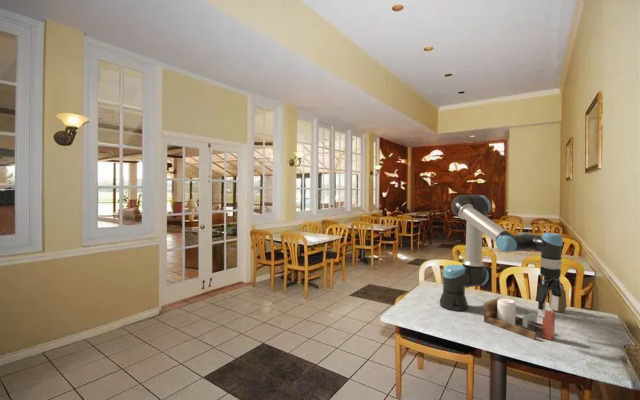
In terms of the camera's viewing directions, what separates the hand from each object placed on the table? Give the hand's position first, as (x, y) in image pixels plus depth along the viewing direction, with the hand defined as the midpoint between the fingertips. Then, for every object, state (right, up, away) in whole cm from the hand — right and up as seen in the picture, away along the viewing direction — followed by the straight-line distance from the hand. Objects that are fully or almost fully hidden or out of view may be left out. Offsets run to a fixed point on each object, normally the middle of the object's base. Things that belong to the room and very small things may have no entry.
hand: (547, 312), depth 146 cm
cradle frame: (-8, -11, +12) cm, 18 cm away
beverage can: (-10, -11, +16) cm, 22 cm away
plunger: (-2, -11, +3) cm, 12 cm away
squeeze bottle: (+29, -11, +33) cm, 45 cm away
